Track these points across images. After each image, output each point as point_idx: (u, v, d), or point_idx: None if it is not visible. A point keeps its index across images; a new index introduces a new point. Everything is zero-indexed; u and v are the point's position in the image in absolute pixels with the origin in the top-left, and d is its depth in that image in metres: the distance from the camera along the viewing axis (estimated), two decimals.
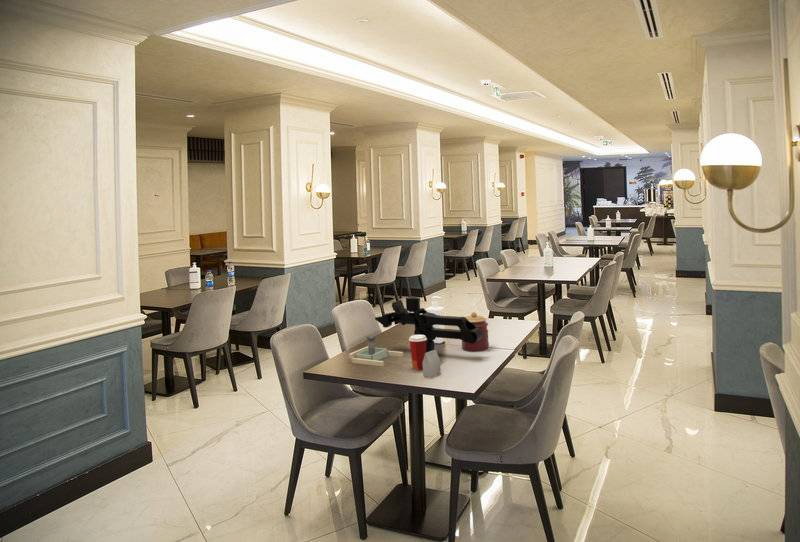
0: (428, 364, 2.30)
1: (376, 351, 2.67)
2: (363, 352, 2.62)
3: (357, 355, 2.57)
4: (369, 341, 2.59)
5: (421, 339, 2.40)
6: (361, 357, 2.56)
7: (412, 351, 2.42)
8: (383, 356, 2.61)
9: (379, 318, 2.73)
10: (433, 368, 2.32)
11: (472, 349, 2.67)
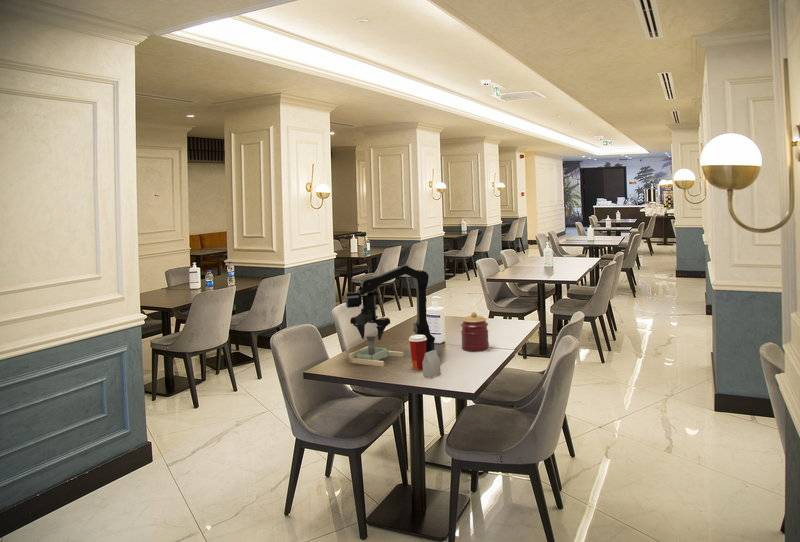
0: (428, 364, 2.30)
1: (376, 351, 2.67)
2: (363, 352, 2.62)
3: (357, 355, 2.57)
4: (369, 341, 2.59)
5: (421, 339, 2.40)
6: (361, 357, 2.56)
7: (412, 351, 2.42)
8: (383, 356, 2.61)
9: (380, 333, 2.57)
10: (433, 368, 2.32)
11: (472, 349, 2.67)
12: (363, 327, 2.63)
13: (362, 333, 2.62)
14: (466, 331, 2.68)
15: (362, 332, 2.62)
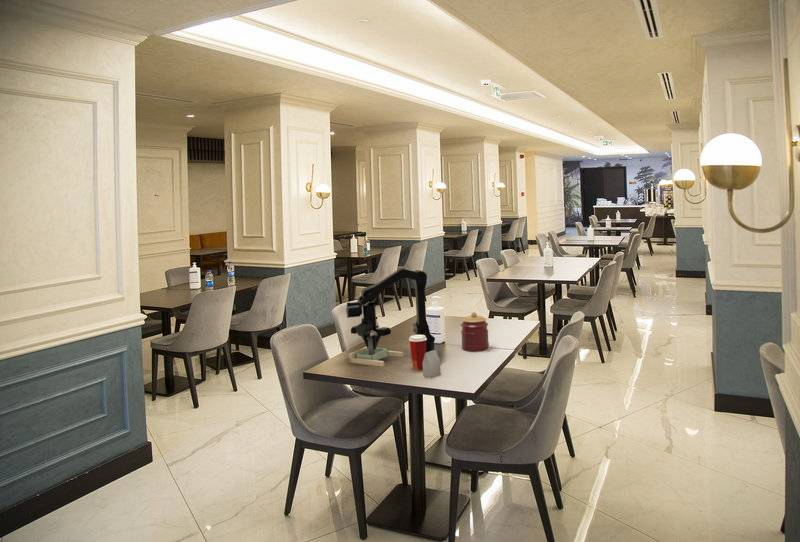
0: (428, 364, 2.30)
1: (376, 351, 2.67)
2: (363, 352, 2.62)
3: (357, 355, 2.57)
4: (369, 341, 2.59)
5: (421, 339, 2.40)
6: (361, 357, 2.56)
7: (412, 351, 2.42)
8: (383, 356, 2.61)
9: (375, 342, 2.59)
10: (433, 368, 2.32)
11: (472, 349, 2.67)
12: None
13: (367, 343, 2.61)
14: (466, 331, 2.68)
15: (367, 342, 2.61)
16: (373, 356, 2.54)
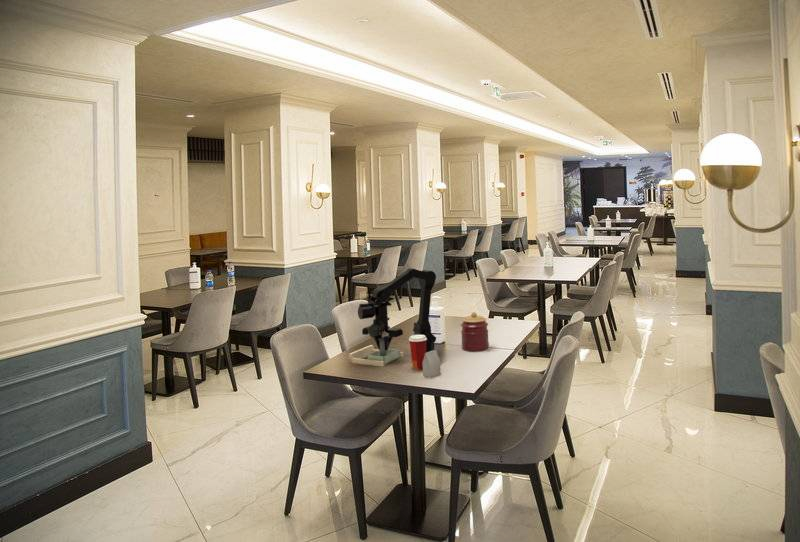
0: (428, 364, 2.30)
1: (388, 352, 2.63)
2: (375, 353, 2.59)
3: (368, 357, 2.54)
4: (381, 342, 2.56)
5: (421, 339, 2.40)
6: (373, 358, 2.53)
7: (412, 351, 2.42)
8: (395, 357, 2.58)
9: (387, 343, 2.55)
10: (433, 368, 2.32)
11: (472, 349, 2.67)
12: None
13: (379, 344, 2.58)
14: (466, 331, 2.68)
15: (379, 343, 2.58)
16: (385, 357, 2.51)
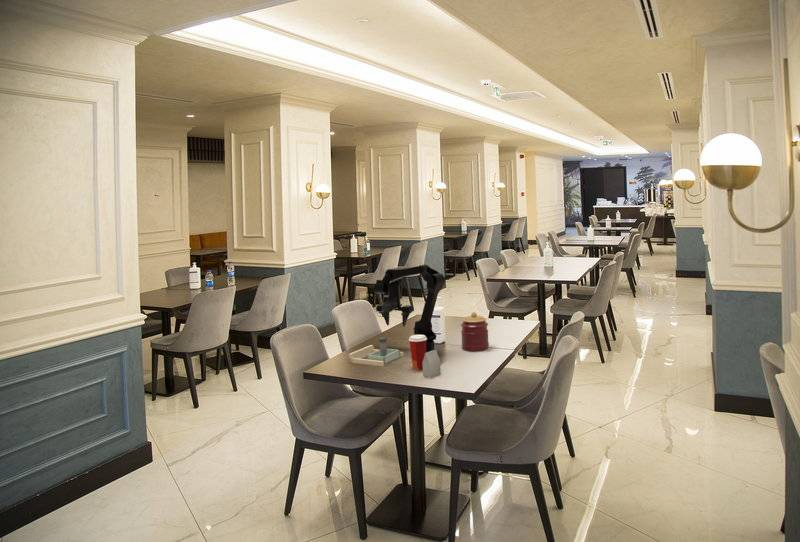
0: (428, 364, 2.30)
1: (388, 352, 2.63)
2: (375, 353, 2.59)
3: (368, 357, 2.54)
4: (381, 342, 2.56)
5: (421, 339, 2.40)
6: (373, 358, 2.53)
7: (412, 351, 2.42)
8: (395, 357, 2.58)
9: (405, 320, 2.74)
10: (433, 368, 2.32)
11: (472, 349, 2.67)
12: (388, 314, 2.81)
13: (387, 320, 2.79)
14: (466, 331, 2.68)
15: (387, 319, 2.79)
16: (385, 357, 2.51)
